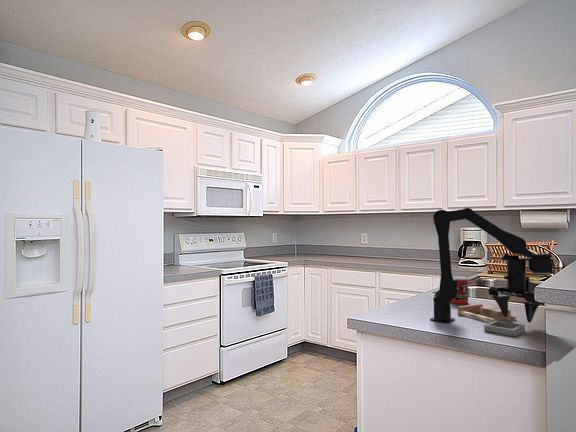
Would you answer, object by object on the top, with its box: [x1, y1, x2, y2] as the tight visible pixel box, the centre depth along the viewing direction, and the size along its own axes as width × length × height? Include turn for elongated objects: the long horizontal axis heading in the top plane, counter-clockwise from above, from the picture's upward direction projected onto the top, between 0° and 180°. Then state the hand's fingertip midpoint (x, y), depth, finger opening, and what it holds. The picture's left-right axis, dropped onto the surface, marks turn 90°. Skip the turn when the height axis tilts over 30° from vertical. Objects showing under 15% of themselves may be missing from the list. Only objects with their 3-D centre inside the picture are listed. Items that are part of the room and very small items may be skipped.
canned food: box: [450, 275, 469, 305], centre depth 178 cm, size 8×8×11 cm
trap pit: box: [483, 320, 526, 338], centre depth 132 cm, size 9×9×2 cm
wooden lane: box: [457, 303, 517, 324], centre depth 151 cm, size 16×11×3 cm
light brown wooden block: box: [479, 305, 512, 322], centre depth 148 cm, size 8×6×4 cm
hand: (517, 319), depth 139 cm, fingers open, 9 cm apart
